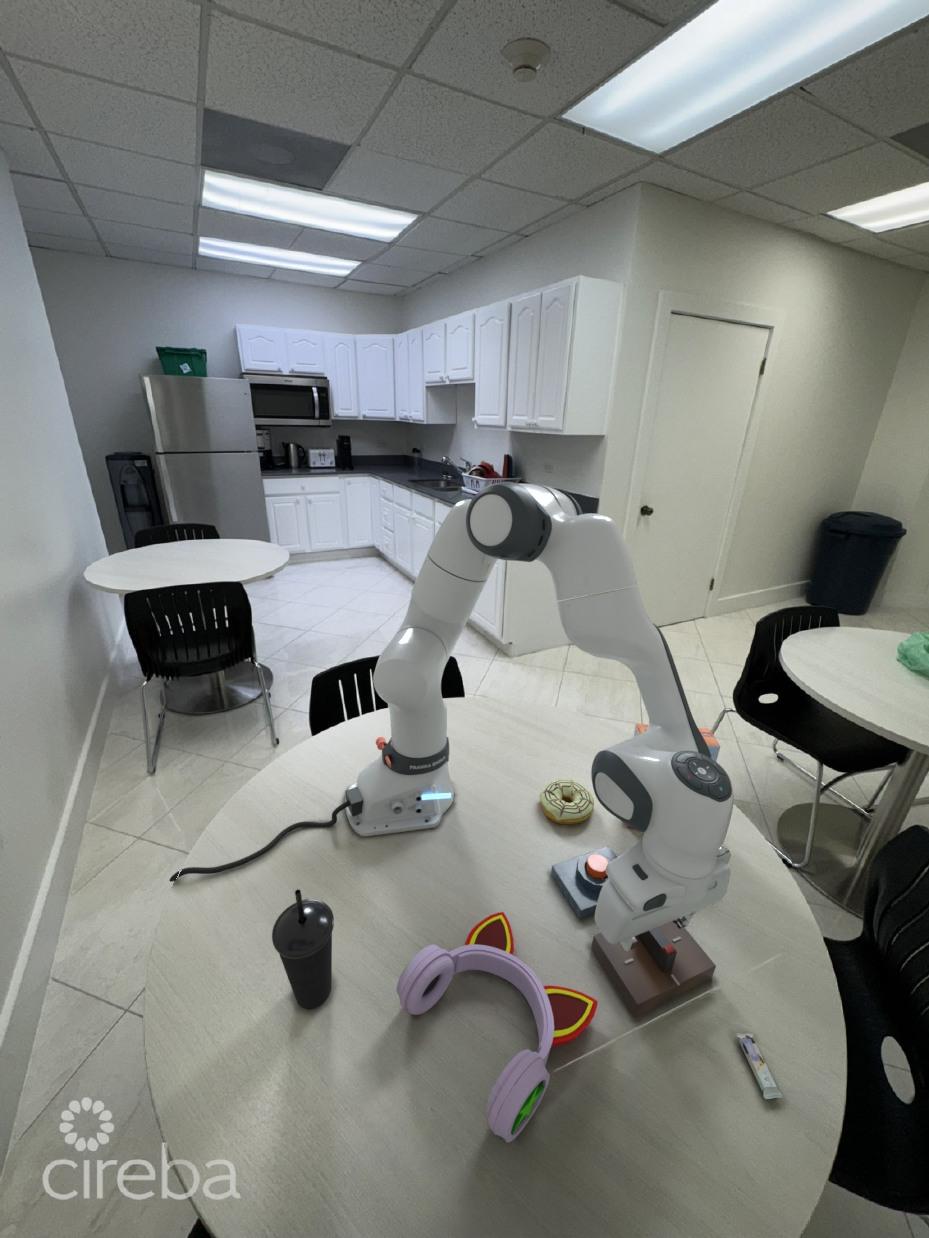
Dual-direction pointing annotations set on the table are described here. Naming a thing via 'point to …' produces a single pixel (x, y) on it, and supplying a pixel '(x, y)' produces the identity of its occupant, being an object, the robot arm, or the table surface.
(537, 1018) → the headphones
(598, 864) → the button
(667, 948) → the handle
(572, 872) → the button box
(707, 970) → the panel
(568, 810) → the decorated donut
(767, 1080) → the granola bar
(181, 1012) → the table surface
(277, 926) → the drinking cup
